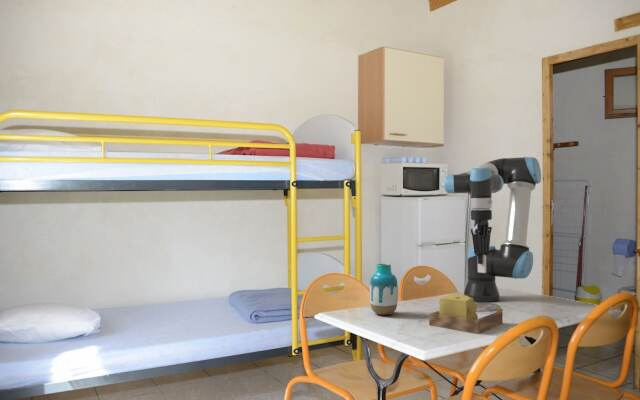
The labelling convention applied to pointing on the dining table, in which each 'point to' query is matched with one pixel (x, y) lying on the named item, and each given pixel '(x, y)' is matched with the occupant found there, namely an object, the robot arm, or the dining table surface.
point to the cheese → (458, 306)
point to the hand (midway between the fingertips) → (481, 272)
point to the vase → (383, 290)
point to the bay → (466, 322)
